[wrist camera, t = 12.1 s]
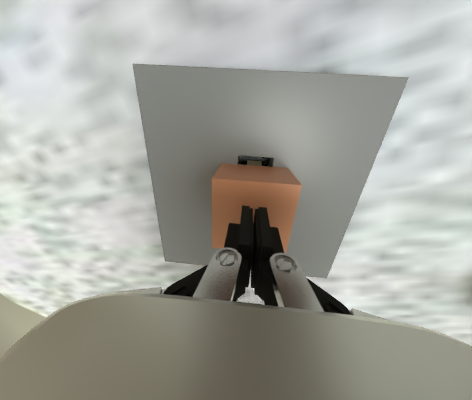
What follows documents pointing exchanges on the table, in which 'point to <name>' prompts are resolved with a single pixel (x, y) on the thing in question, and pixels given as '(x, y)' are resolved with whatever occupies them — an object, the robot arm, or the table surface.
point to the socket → (261, 147)
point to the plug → (253, 197)
